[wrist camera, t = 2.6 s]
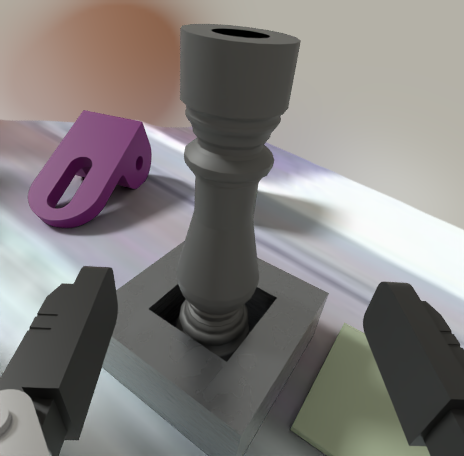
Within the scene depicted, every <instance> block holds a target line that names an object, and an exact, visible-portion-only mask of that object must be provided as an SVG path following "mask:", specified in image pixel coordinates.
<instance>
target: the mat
mask: <svg viewBox="0 0 464 456" xmlns="http://www.w3.org/2000/svg"><path fill="white" fill-rule="evenodd" d="M291 431H293V432H294V433H295V434H297V435H298V436H300V437H301V438H303V439H304V440H305V441H307V442H308V443H310V444H311V445H312V446H314V447H315V448H317V449H318V450H320V451H321V452H322V453H324V454H325V455H327V456H430V454H429V451H428V449H427V447H426V446H409V444H408V442H407V439H406V437H405V434H404V432H403V429H402V427H401V424H400V422H399V419H398V416H397V414H396V411H395V409H394V406H393V404H392V401H391V399H390V396H389V394H388V391H387V389H386V386H385V384H384V381H383V379H382V376H381V374H380V371H379V369H378V366H377V364H376V361H375V359H374V356H373V354H372V351H371V348H370V346H369V343H368V341H367V338H366V336H365V333H363V332H361V331H359V330H357V329H355V328H353V327H351V326H349V325H347V324H346V323H344V325H343V327H342V329H341V331H340V333H339V335H338V336H337V338H336V340H335V342H334V344H333V346H332V348H331V350H330V352H329V354H328V356H327V358H326V360H325V362H324V364H323V366H322V368H321V370H320V372H319V374H318V376H317V378H316V380H315V382H314V384H313V386H312V388H311V390H310V392H309V394H308V396H307V398H306V400H305V402H304V403H303V405H302V407H301V409H300V411H299V413H298V415H297V417H296V419H295V421H294V423H293V425H292V427H291Z"/></svg>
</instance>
